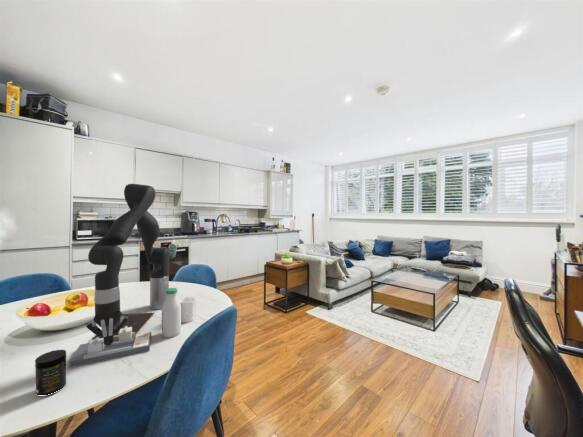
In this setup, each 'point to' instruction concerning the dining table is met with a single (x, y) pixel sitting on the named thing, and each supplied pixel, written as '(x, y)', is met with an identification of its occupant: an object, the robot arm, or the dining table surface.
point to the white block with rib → (96, 346)
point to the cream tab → (125, 333)
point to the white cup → (187, 309)
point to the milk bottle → (171, 314)
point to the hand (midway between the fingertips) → (108, 344)
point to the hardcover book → (133, 322)
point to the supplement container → (50, 372)
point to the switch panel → (112, 349)
